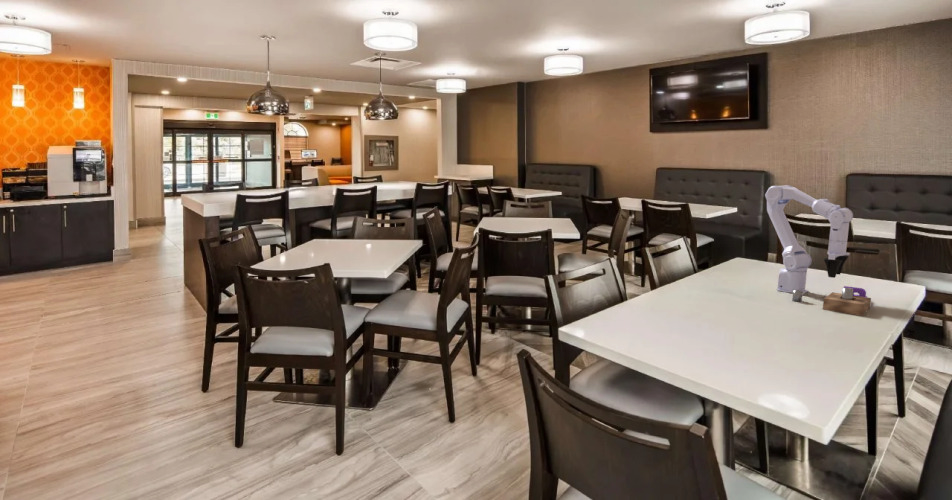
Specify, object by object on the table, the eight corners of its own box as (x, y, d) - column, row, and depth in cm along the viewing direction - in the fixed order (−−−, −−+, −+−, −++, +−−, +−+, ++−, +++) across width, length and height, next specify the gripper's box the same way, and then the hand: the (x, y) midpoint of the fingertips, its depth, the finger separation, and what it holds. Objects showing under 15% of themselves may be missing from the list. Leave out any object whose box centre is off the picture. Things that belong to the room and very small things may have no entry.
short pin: (791, 301, 210) (792, 290, 209) (793, 299, 212) (794, 289, 211) (800, 302, 208) (801, 292, 207) (802, 300, 210) (803, 290, 209)
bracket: (863, 308, 201) (866, 289, 200) (841, 305, 205) (843, 287, 204) (866, 301, 210) (869, 283, 209) (845, 298, 214) (847, 281, 213)
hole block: (822, 309, 199) (823, 298, 198) (831, 302, 207) (832, 292, 206) (862, 315, 190) (863, 304, 190) (869, 308, 199) (871, 298, 198)
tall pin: (839, 308, 199) (841, 288, 198) (841, 307, 201) (843, 287, 200) (850, 310, 197) (852, 290, 195) (852, 308, 199) (854, 288, 198)
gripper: (845, 243, 199) (841, 280, 202) (855, 239, 209) (851, 274, 212) (823, 241, 204) (819, 277, 207) (833, 237, 214) (830, 271, 217)
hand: (834, 275), depth 210 cm, fingers open, 7 cm apart
